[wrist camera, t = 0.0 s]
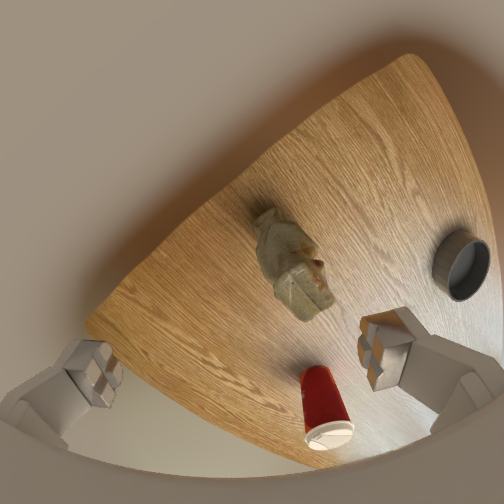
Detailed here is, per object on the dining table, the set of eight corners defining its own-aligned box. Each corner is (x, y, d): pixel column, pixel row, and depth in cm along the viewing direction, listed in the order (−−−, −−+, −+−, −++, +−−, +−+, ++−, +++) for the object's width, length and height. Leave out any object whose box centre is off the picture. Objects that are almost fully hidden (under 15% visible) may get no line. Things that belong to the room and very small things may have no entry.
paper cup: (285, 381, 44) (294, 447, 31) (315, 355, 42) (334, 423, 29) (315, 393, 46) (329, 454, 33) (344, 370, 43) (366, 432, 30)
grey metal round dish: (436, 233, 34) (453, 244, 30) (478, 227, 34) (494, 236, 29) (427, 294, 38) (441, 308, 34) (468, 282, 38) (482, 294, 33)
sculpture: (275, 264, 35) (291, 339, 21) (243, 220, 33) (239, 276, 19) (313, 240, 34) (352, 303, 20) (283, 194, 32) (310, 231, 18)
